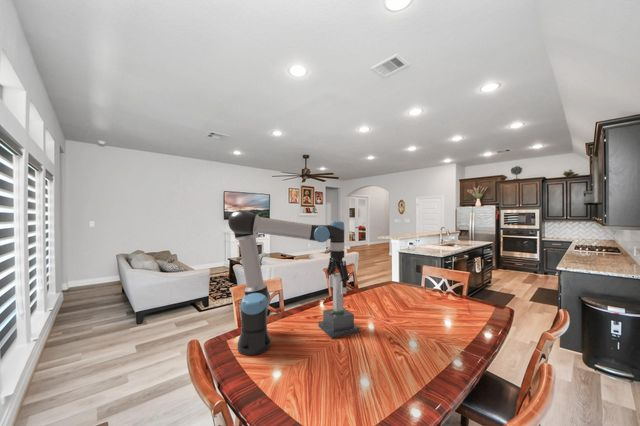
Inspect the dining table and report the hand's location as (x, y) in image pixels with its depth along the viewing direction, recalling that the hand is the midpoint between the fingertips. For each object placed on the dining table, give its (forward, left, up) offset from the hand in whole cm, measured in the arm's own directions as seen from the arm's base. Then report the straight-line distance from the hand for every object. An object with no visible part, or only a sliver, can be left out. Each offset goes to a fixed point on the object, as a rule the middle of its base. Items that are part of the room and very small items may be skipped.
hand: (337, 290), depth 141 cm
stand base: (0, 0, -21) cm, 21 cm away
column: (0, 0, -15) cm, 15 cm away
